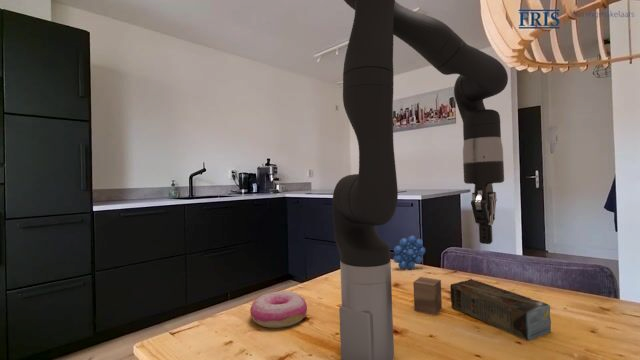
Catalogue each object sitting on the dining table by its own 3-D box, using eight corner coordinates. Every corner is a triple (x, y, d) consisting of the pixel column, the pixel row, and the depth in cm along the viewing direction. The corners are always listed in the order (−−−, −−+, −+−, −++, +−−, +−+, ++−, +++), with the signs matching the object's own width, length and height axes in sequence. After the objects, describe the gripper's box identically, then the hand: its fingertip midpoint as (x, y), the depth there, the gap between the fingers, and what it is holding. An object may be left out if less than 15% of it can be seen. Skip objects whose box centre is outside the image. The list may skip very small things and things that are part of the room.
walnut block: (435, 315, 73) (434, 285, 74) (414, 310, 77) (413, 281, 77) (441, 308, 77) (440, 279, 77) (421, 304, 80) (420, 276, 81)
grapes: (421, 265, 117) (420, 233, 117) (428, 270, 110) (427, 236, 110) (390, 266, 116) (389, 234, 116) (396, 271, 110) (394, 237, 110)
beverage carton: (528, 343, 60) (526, 308, 60) (449, 308, 78) (447, 281, 78) (553, 333, 64) (551, 300, 64) (471, 302, 81) (470, 276, 81)
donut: (265, 338, 65) (264, 314, 65) (241, 317, 76) (240, 297, 76) (318, 320, 73) (317, 298, 73) (289, 303, 84) (288, 285, 84)
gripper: (497, 158, 59) (501, 251, 58) (507, 160, 69) (511, 239, 69) (455, 161, 63) (458, 247, 63) (470, 162, 74) (474, 236, 73)
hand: (486, 243), depth 66 cm, fingers closed
